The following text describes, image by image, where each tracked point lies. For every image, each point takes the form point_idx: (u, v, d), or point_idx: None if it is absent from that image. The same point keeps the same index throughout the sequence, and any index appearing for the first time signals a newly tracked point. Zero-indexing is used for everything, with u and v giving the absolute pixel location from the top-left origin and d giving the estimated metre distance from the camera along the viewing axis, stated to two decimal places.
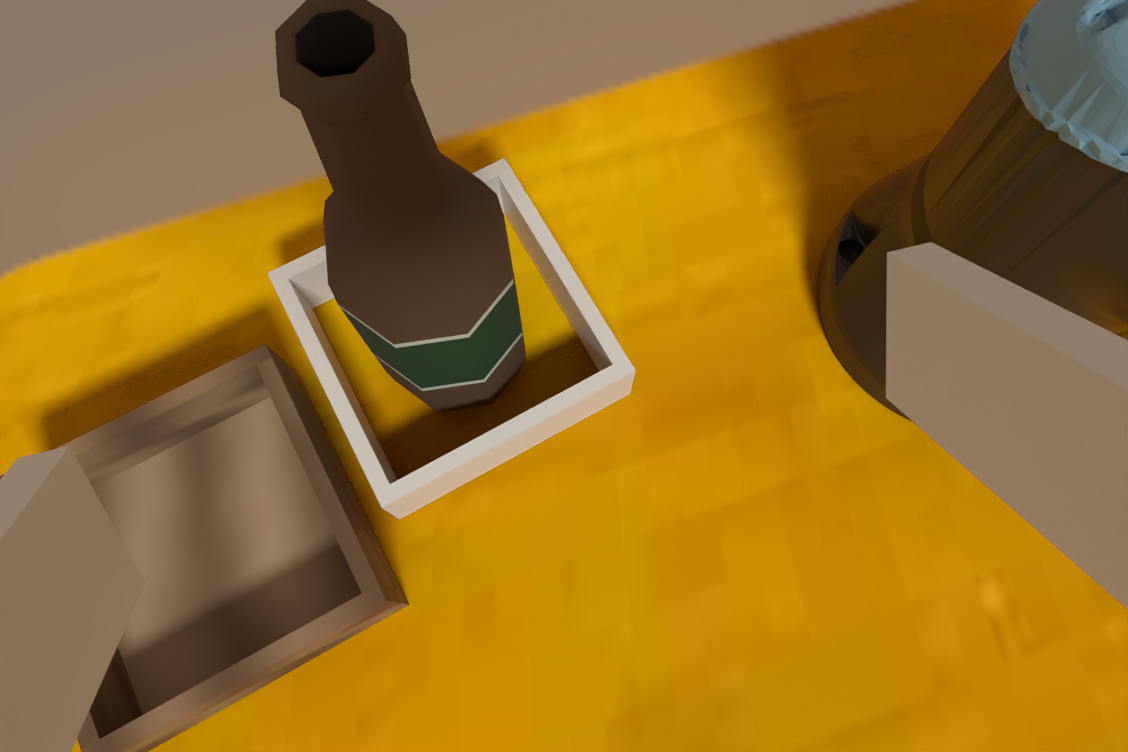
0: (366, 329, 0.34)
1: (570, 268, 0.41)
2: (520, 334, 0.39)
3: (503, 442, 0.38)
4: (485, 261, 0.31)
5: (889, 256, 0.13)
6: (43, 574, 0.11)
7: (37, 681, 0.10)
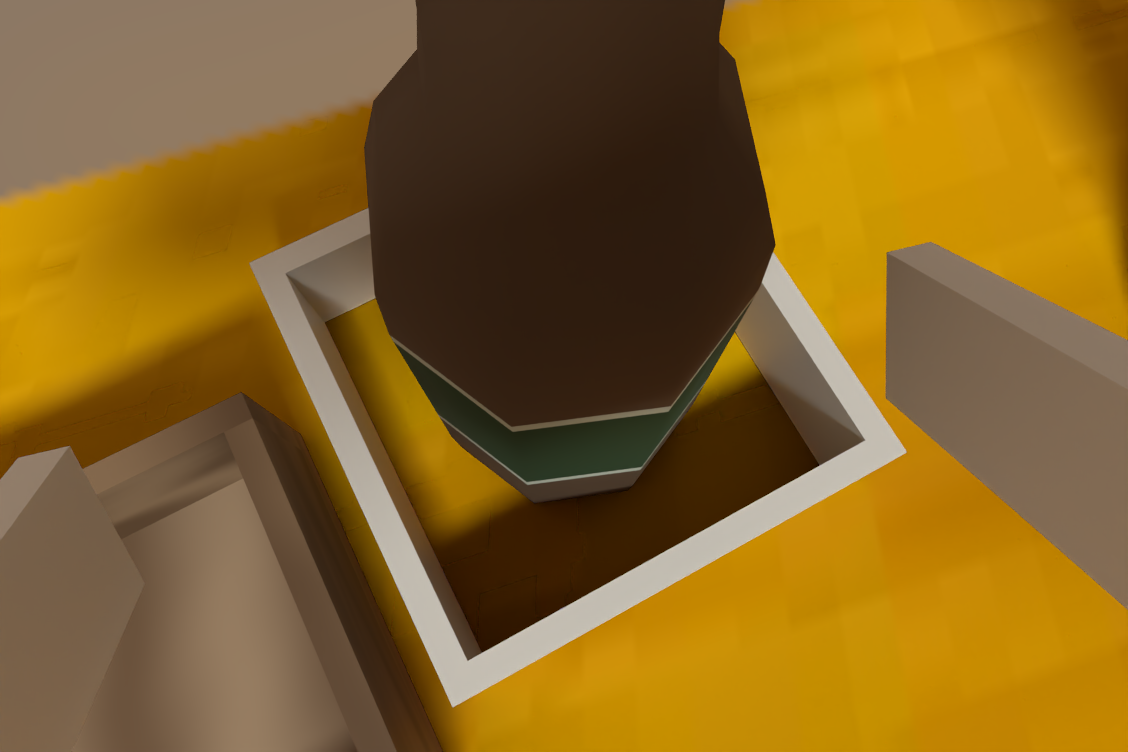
0: (445, 386, 0.16)
1: (778, 265, 0.23)
2: (704, 383, 0.22)
3: (674, 582, 0.21)
4: (746, 250, 0.13)
5: (889, 256, 0.13)
6: (43, 574, 0.11)
7: (37, 681, 0.10)
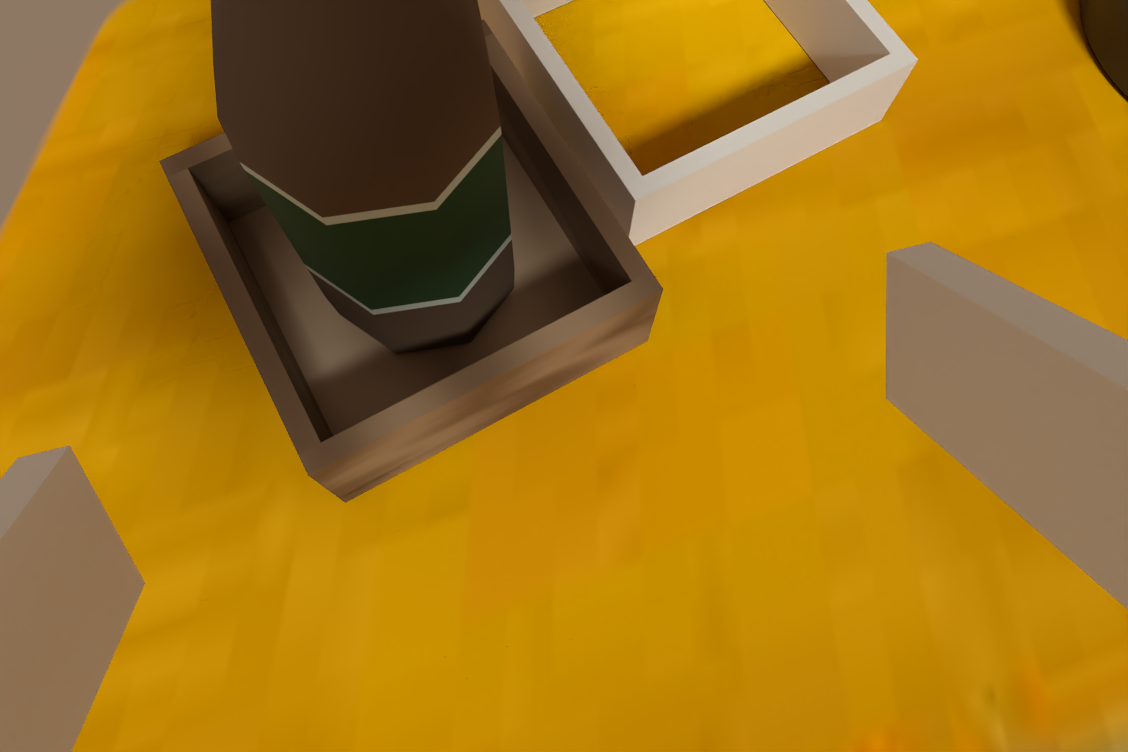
0: (284, 204, 0.23)
1: None
2: (509, 237, 0.28)
3: (771, 134, 0.32)
4: (459, 76, 0.20)
5: (889, 256, 0.13)
6: (43, 574, 0.11)
7: (37, 681, 0.10)
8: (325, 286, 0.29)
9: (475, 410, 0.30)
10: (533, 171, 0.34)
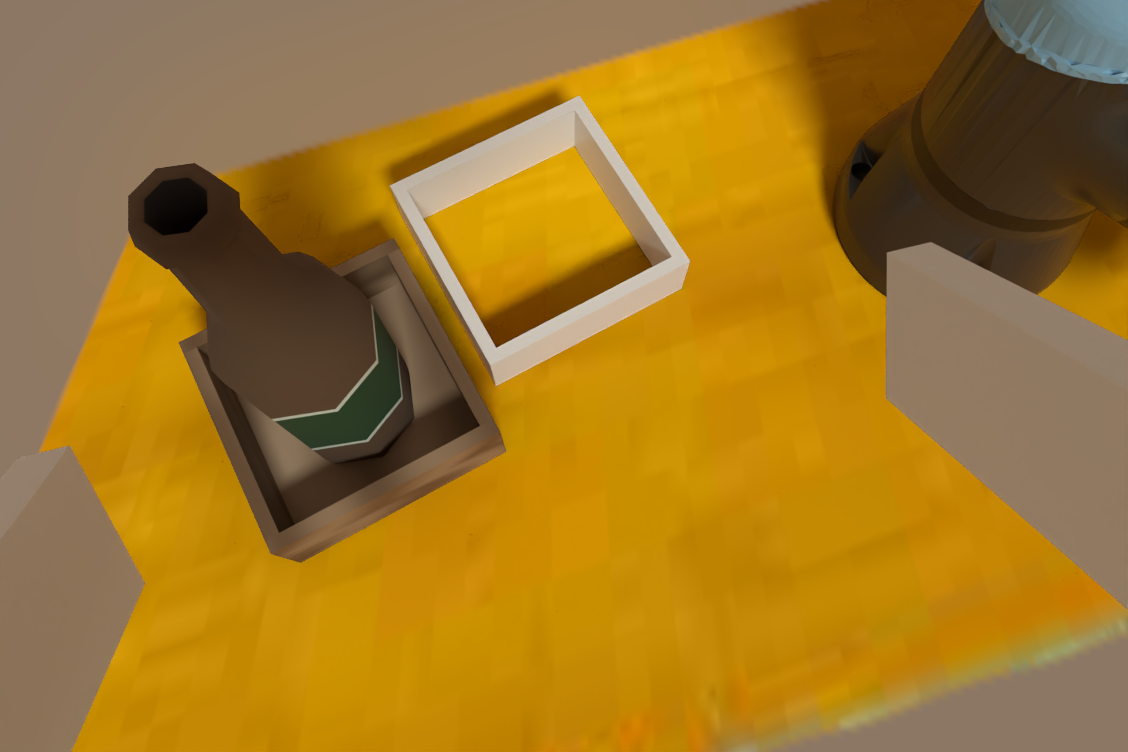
0: None
1: (635, 182, 0.51)
2: (400, 398, 0.44)
3: (585, 316, 0.48)
4: (343, 350, 0.36)
5: (889, 256, 0.13)
6: (44, 574, 0.11)
7: (37, 681, 0.10)
8: None
9: (381, 506, 0.46)
10: (429, 336, 0.50)
